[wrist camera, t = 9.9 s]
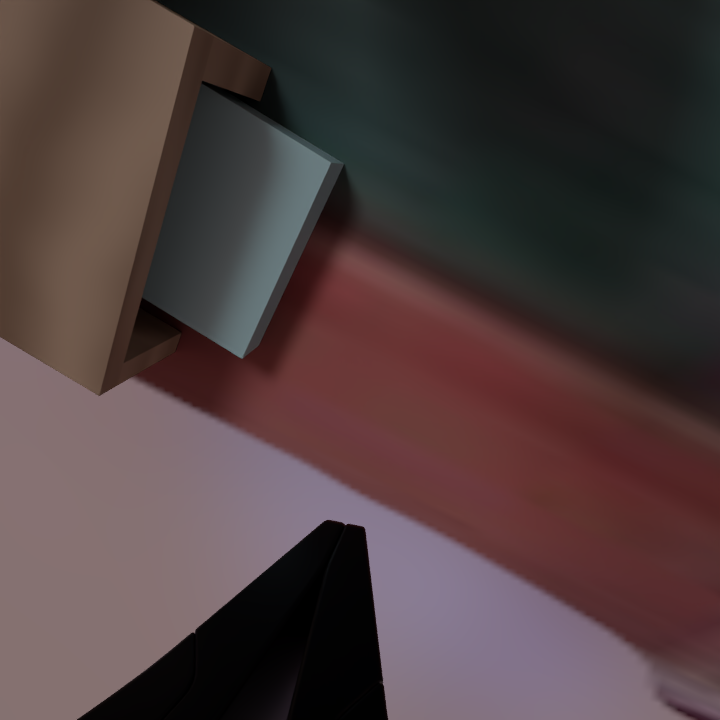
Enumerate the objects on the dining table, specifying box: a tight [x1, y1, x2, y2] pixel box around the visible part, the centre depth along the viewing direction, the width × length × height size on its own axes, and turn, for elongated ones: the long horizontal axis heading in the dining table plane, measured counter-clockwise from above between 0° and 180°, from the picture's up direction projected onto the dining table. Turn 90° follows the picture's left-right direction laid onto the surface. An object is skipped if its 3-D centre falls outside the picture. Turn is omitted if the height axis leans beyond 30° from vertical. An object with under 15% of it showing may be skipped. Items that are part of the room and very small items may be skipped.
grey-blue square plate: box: [142, 81, 344, 359], centre depth 18 cm, size 10×9×2 cm
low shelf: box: [0, 0, 271, 396], centre depth 17 cm, size 8×13×5 cm, turn 153°
